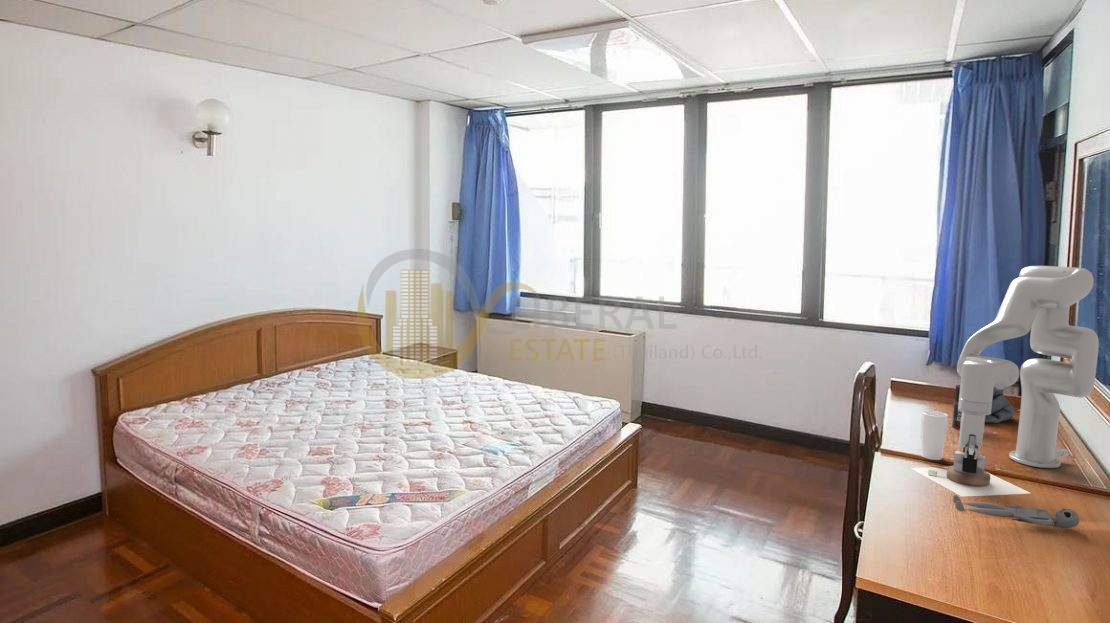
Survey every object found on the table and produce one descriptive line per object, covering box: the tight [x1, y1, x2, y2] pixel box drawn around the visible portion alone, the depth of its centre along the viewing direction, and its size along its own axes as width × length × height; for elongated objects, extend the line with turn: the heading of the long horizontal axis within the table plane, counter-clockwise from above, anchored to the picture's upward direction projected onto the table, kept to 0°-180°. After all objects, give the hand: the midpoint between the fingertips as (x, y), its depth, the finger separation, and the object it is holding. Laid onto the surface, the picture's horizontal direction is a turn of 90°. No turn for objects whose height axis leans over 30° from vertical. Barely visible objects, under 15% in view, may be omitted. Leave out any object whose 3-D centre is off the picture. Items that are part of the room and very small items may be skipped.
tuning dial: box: [929, 450, 991, 486], centre depth 177 cm, size 14×10×7 cm
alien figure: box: [952, 494, 1080, 530], centre depth 155 cm, size 8×5×25 cm
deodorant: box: [951, 384, 962, 431], centre depth 227 cm, size 6×6×15 cm
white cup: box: [920, 410, 949, 461], centre depth 193 cm, size 7×7×15 cm
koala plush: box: [952, 387, 1015, 424], centre depth 240 cm, size 17×18×20 cm
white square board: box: [909, 465, 1032, 498], centre depth 176 cm, size 20×20×2 cm
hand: (969, 466), depth 175 cm, fingers open, 9 cm apart
